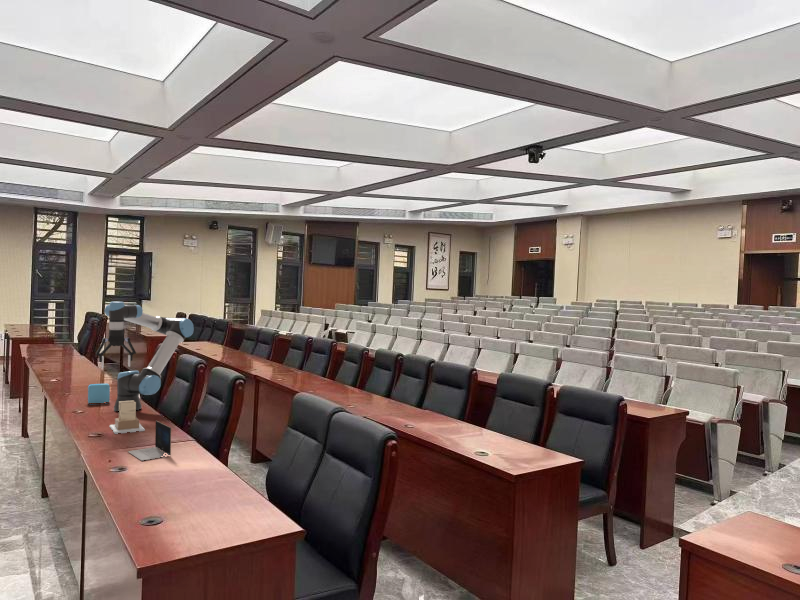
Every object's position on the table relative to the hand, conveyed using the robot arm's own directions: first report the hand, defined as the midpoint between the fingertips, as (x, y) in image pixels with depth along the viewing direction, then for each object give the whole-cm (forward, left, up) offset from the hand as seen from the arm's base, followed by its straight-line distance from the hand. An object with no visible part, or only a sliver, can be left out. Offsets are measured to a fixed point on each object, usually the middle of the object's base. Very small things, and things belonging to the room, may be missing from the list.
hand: (115, 367), depth 330 cm
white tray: (+18, +23, -29) cm, 40 cm away
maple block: (+18, +23, -24) cm, 37 cm away
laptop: (+54, +64, -29) cm, 88 cm away
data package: (-32, -40, -29) cm, 59 cm away
